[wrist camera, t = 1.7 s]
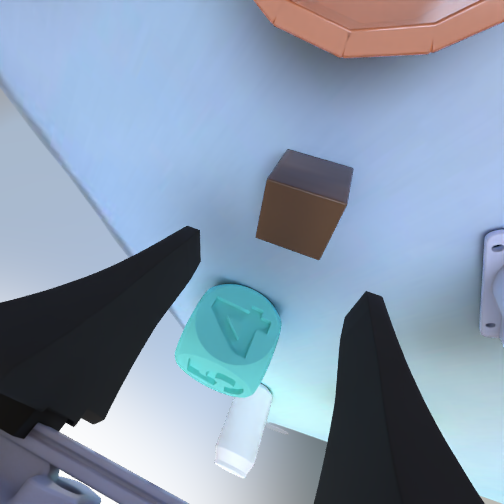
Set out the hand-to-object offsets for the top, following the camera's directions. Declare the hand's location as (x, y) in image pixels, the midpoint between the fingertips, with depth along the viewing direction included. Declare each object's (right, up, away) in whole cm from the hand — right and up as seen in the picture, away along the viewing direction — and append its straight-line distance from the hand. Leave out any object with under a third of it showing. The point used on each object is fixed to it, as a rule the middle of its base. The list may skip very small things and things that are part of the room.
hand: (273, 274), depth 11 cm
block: (+3, +5, +5) cm, 8 cm away
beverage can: (0, -23, +34) cm, 40 cm away
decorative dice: (-2, -5, +18) cm, 18 cm away
